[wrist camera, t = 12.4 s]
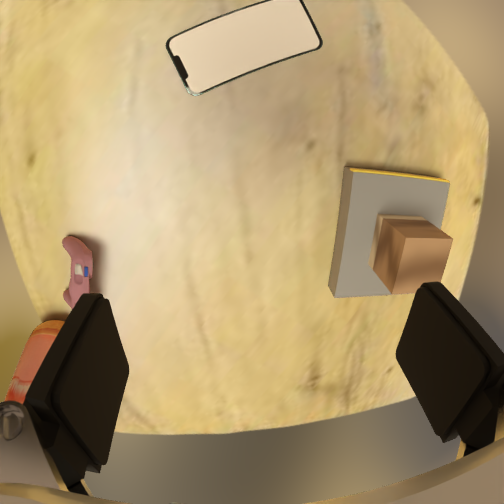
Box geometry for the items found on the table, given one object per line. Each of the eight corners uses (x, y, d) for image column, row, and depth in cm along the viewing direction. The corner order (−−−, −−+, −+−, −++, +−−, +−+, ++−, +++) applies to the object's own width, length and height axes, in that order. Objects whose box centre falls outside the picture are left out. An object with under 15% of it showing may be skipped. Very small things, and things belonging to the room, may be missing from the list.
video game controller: (92, 294, 42) (98, 325, 37) (63, 294, 39) (65, 327, 34) (95, 232, 38) (100, 260, 33) (62, 232, 35) (61, 259, 30)
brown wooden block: (377, 213, 35) (406, 237, 28) (421, 216, 35) (453, 238, 29) (367, 263, 37) (391, 294, 31) (410, 263, 38) (437, 291, 32)
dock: (344, 165, 35) (353, 170, 32) (438, 175, 36) (451, 181, 33) (328, 285, 42) (334, 297, 39) (414, 281, 43) (424, 292, 40)
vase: (69, 380, 48) (22, 516, 21) (23, 320, 41) (-57, 460, 15) (130, 370, 47) (93, 537, 20) (83, 302, 40) (-4, 482, 14)
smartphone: (296, -8, 26) (163, 41, 28) (297, -9, 25) (162, 40, 27) (324, 48, 29) (191, 99, 31) (326, 48, 29) (191, 99, 30)
